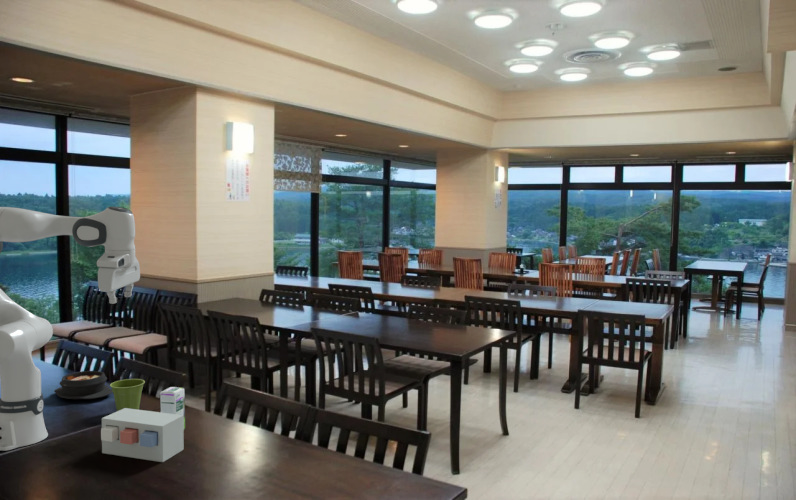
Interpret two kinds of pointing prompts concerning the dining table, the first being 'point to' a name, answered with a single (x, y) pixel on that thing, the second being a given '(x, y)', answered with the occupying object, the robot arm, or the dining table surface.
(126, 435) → the red key
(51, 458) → the dining table surface
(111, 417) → the key console
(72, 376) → the casserole
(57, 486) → the dining table surface
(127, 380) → the plant pot
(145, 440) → the blue key
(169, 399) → the syrup box
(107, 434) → the white key
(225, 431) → the dining table surface
